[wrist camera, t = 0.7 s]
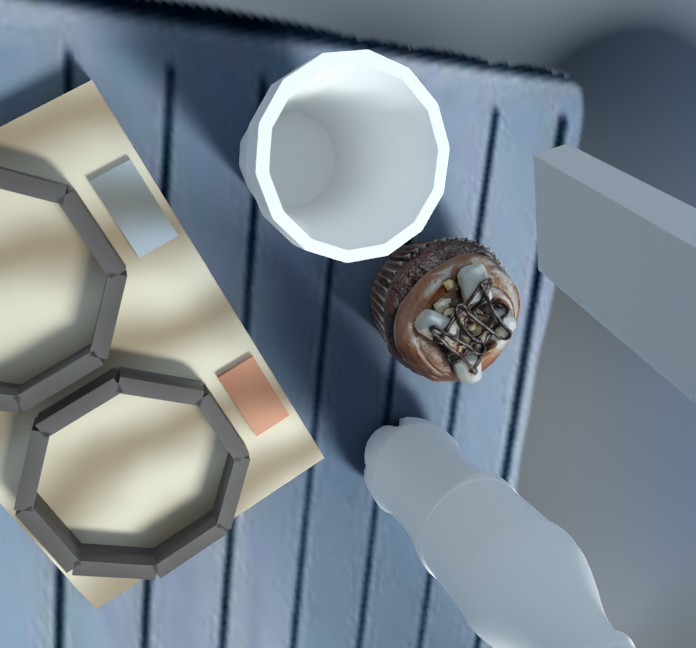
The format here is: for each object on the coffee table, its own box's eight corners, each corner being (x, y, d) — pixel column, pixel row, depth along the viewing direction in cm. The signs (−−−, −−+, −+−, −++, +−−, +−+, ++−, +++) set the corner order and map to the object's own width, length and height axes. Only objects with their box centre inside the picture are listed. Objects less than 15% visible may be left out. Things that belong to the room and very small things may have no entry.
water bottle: (354, 412, 47) (577, 651, 24) (441, 403, 50) (720, 613, 27) (351, 500, 49) (557, 801, 26) (435, 487, 51) (692, 752, 28)
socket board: (318, 449, 47) (332, 470, 44) (96, 595, 44) (95, 629, 41) (92, 82, 37) (90, 75, 33) (-218, 242, 34) (-253, 251, 30)
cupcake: (427, 381, 49) (499, 433, 40) (330, 313, 45) (385, 354, 36) (500, 278, 49) (589, 306, 40) (409, 201, 45) (485, 213, 36)
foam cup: (310, 258, 43) (384, 296, 31) (186, 185, 40) (216, 198, 28) (380, 134, 43) (482, 125, 31) (262, 49, 39) (325, 2, 27)
